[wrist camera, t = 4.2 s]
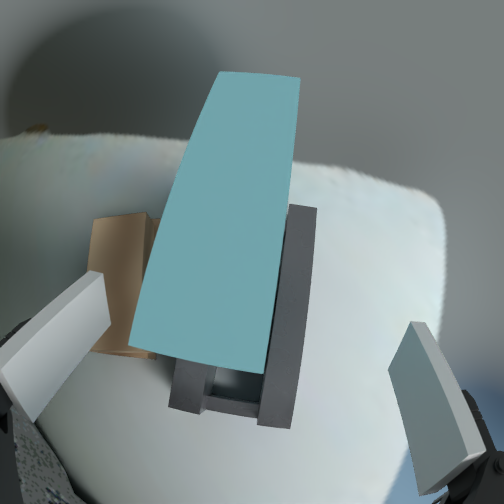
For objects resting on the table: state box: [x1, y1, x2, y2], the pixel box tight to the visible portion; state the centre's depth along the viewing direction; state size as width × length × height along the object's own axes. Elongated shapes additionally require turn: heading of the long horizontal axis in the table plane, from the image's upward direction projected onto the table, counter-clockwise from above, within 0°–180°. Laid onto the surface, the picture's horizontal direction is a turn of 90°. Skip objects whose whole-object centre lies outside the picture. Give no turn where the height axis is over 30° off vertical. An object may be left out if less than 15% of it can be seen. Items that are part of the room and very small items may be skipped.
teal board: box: [128, 72, 300, 374], centre depth 14 cm, size 2×8×17 cm, turn 171°
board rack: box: [168, 204, 317, 429], centre depth 20 cm, size 8×15×4 cm, turn 171°
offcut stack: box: [87, 212, 161, 359], centre depth 21 cm, size 6×11×4 cm, turn 0°
